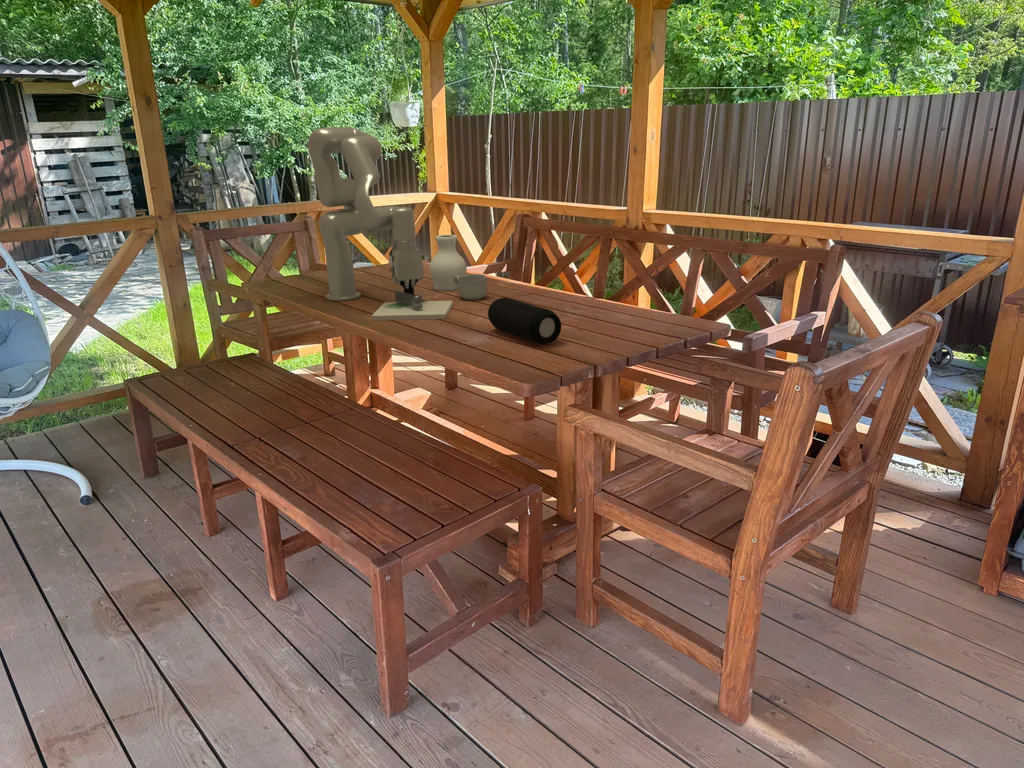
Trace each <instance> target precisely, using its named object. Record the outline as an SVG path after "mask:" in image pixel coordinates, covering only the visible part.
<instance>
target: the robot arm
mask: <svg viewBox="0 0 1024 768" xmlns="http://www.w3.org/2000/svg"><path fill="white" fill-rule="evenodd" d="M307 149H308V154H309V157H310V160H311V163H312V166H313V171H314V176H315V182H316V187H317V188H316V189H317V193H318V199H319V202H320V204H321V205H322V206H324V207H327V208H335V207H343V209H338V210H332V211H326V212H325V213H323V214H321V216H320V218H319V220H318V226H319V227H318V228H319V232H320V234H321V237H322V241H323V247H324V256H325V262H326V264H325V265H326V270H327V271H326V272H327V281H328V288H329V293H328V294H327V293H326V295H325V298H326V300H328V301H332V302H333V301H335V302H339V301H341V302H342V301H350V300H356V299H358V298H360V297H362V296H361V293H360V292H359V291H357V290H356V289H357V288H356V279H355V271H354V262H353V261H354V260H353V253H352V252H353V251H352V247H351V244H350V243H349V241H348V240H347V237H351V236H356V235H359V234H362V233H364V231H365V228H366V229H368V230H369V231H371V232H377V231H383V230H384V231H385V230H390V229H392V232H391V233H392V242H391V243H389V246H390V247H389V248H391V249H392V247H393V248H394V250H393V251H392V268H391V276H392V283H393V284H395V285H400V286H401V288H403V292H407V293H411V294H415V290H414V289H415V287H416V285H417V283H418V282H420V281H422V280H423V277H424V272H425V271H424V265H423V258H422V254H421V252H420V251H421V250H420V248H418V247H417V236H416V224H415V212H414V210H413V208H411V207H409V206H408V207H407V206H396V205H385V206H377V207H374V204H373V202H372V200H371V199H370V198H371V197H370V194H369V191H370V188H372V187H374V186H375V185H376V184H378V182H379V181H380V179H381V174H380V172H379V170H378V167H377V166H376V163H375V161H378V160H379V159H380V158H381V156H382V145H381V143H380V142H379V140H378V139H377V138H376V137H375V136H373V135H371V134H369V133H367V132H365V131H363V130H360V129H358V128H356V127H355V128H354V127H351V126H350V127H349V126H339V127H338V126H335V127H333V126H327V127H320V128H317V129H315V130H313V131H312V132H311V133H310V135H309V137H308V141H307ZM338 153H339V154H340V153H341V154H342V157H343V158H344V160H345V162H346V165H347V167H348V168H349V172H350V173H351V175H352V177H353V178H348V177H345V178H344V177H341V175H340V168H339V164H338V163H337V161H336V159H335V158H334V157H333V156H332V155H331V154H338Z"/></svg>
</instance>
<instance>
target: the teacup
mask: <svg viewBox="0 0 1024 768" xmlns="http://www.w3.org/2000/svg"><path fill="white" fill-rule="evenodd" d="M487 279H488V275H486V274H482V273H470V274H469V273H468V274H467V273H466V275H462V276H456V277H454V284H455V286H456V287H457V288H458V290H457V291H458V294H459V296H460V297H461V298H463V299H464V300H465V301H477V300H481V299H482V298H484V296H485V295H486V294H487V292H488V280H487Z"/></svg>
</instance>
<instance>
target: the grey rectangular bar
mask: <svg viewBox="0 0 1024 768" xmlns="http://www.w3.org/2000/svg"><path fill="white" fill-rule="evenodd" d="M394 295H395V296H394V297H395V302H397V303H401V304H404V305H408V306H411V307H413V308H414V309H420V308H423V305H422V300H423V295H422V294H415V293H414V294H411V293H407V292H404V290H399V289H397V290H394Z"/></svg>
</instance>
